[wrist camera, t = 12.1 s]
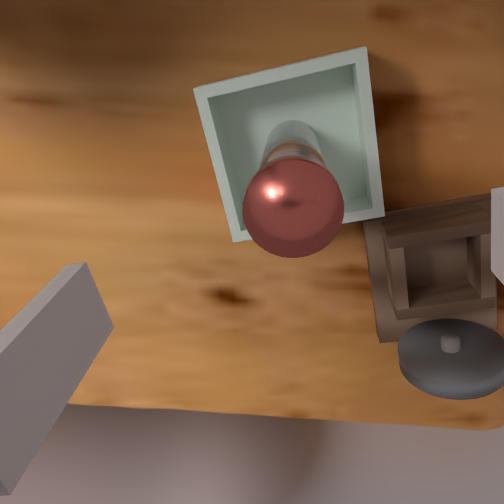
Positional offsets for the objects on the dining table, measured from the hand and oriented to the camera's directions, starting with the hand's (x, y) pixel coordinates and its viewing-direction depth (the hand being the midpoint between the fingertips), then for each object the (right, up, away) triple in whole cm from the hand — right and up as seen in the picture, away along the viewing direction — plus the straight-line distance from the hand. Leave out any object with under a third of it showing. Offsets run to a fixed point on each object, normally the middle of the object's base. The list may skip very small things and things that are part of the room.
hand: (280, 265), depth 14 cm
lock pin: (+2, +9, +19) cm, 21 cm away
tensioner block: (+14, -1, +24) cm, 28 cm away
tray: (+2, +9, +20) cm, 22 cm away
